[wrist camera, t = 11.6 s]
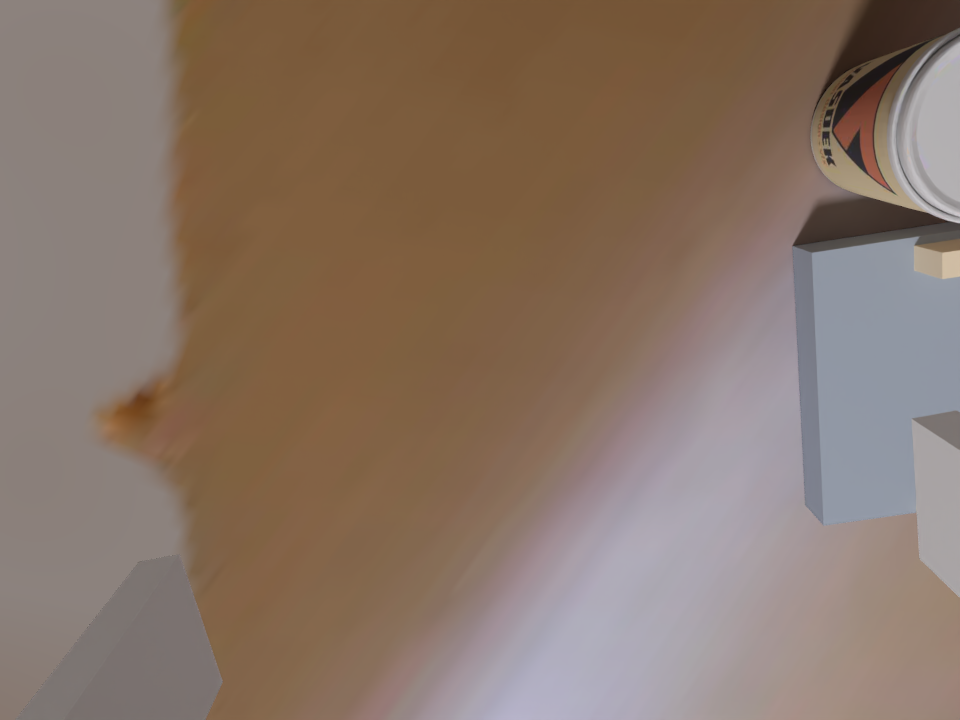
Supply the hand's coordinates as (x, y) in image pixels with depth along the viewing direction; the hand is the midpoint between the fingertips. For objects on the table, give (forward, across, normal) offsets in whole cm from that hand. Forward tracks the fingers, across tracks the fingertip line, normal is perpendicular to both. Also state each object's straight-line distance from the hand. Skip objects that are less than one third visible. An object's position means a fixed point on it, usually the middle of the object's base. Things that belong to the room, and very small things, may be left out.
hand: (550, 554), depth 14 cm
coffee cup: (+38, +24, +3) cm, 45 cm away
